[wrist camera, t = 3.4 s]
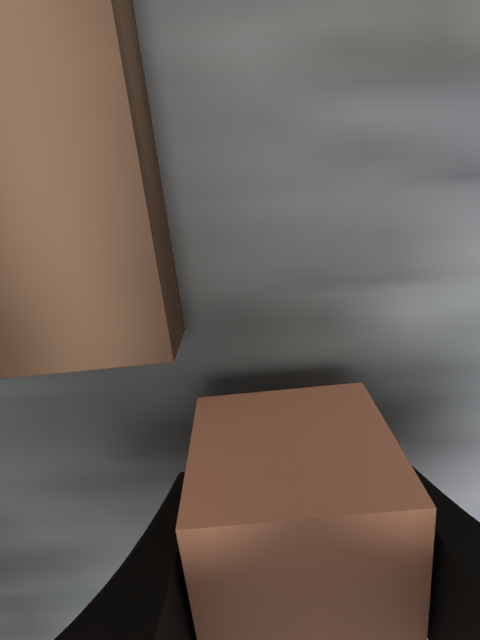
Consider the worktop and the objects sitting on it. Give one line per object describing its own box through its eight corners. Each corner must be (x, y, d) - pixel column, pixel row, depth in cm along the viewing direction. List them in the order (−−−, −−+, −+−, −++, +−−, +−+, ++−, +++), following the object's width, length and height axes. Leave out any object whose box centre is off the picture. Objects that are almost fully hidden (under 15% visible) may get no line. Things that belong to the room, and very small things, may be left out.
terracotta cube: (217, 524, 15) (207, 695, 10) (197, 397, 13) (175, 530, 8) (362, 512, 14) (424, 678, 10) (362, 382, 13) (436, 507, 8)
